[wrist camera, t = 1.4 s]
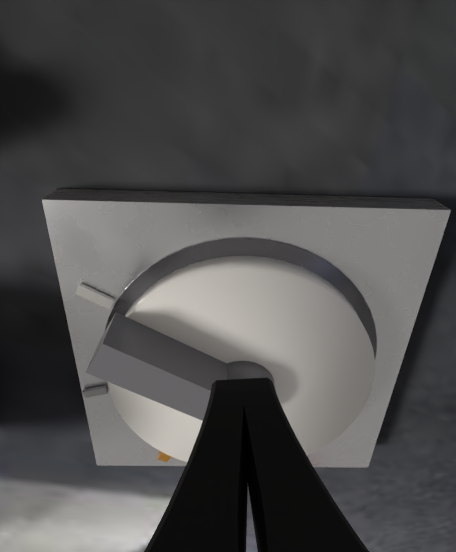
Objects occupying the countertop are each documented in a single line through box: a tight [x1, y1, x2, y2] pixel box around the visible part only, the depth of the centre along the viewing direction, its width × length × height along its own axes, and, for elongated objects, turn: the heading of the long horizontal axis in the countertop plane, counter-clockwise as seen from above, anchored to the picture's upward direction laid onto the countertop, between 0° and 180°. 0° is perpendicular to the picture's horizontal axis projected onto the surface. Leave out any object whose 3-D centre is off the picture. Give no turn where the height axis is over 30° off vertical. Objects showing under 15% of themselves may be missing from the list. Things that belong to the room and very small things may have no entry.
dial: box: [86, 256, 375, 462], centre depth 17 cm, size 12×12×3 cm
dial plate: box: [42, 189, 451, 467], centre depth 20 cm, size 16×16×2 cm
